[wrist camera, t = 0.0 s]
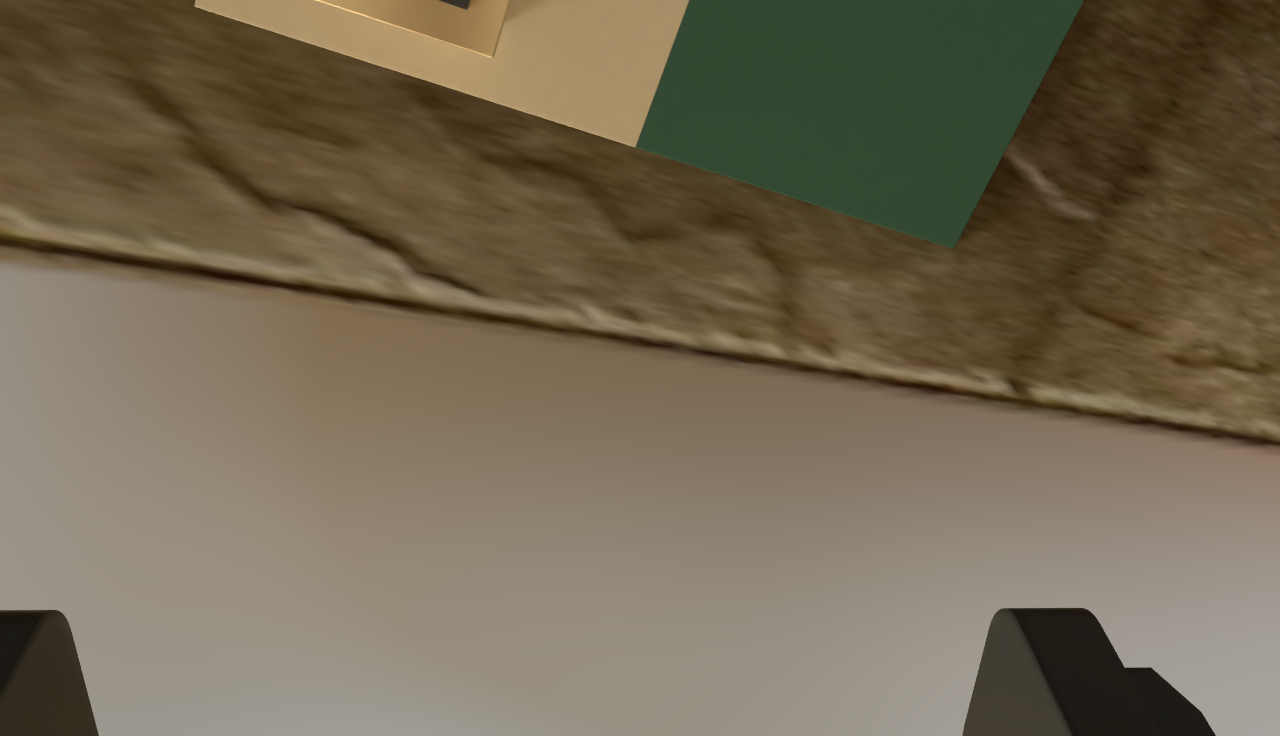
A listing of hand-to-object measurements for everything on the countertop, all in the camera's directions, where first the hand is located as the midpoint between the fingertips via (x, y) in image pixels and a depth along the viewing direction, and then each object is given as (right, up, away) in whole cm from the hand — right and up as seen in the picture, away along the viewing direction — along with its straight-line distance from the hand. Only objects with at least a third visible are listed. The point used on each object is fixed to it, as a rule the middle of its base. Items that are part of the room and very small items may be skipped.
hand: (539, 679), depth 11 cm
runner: (+1, +13, +20) cm, 24 cm away
